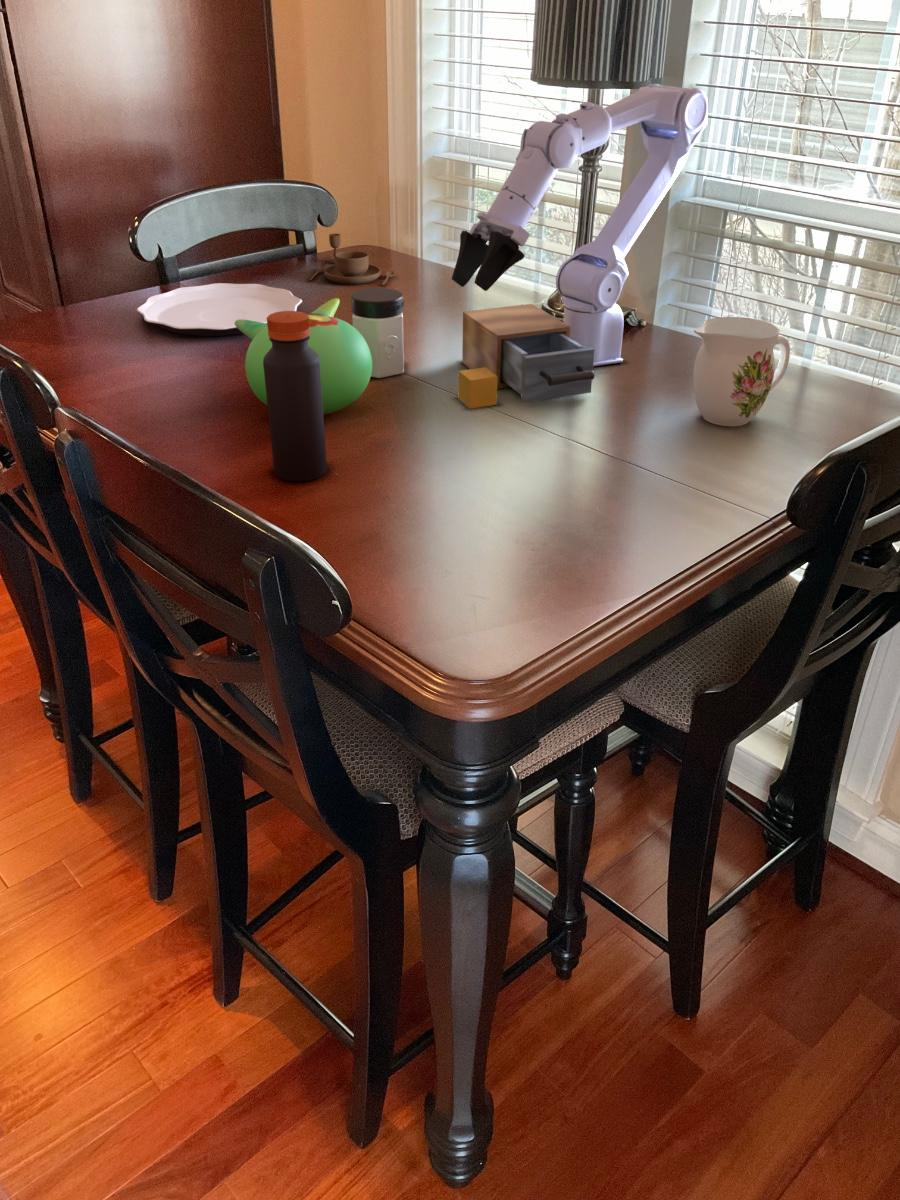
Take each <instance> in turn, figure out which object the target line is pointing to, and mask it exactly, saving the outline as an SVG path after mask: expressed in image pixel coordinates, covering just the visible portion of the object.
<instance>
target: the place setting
mask: <svg viewBox="0 0 900 1200" xmlns="http://www.w3.org/2000/svg"><path fill="white" fill-rule="evenodd" d="M328 239H329V246H330V247H331V248H332V249H333V254H332V255H333V259H331V260H330V261H329V263H330V264H331V265H330V266H327V267H326V268H325V265H324V266H322V265H319V266H318V268H317V269H316V271H315V273H314V274H313V275H312V276H311V277H310V278H309V279H308V281H312V280H313V279H314V278H315V277H316V276H317V275H318V274H320V273H323V274H324V277H325V278H326V279H327V280H328V281H331V282H332V283H334V284H340V285H363V284H369V283H372V282H374V281H375V280H377V279H378V278H380V276H381V274H382V269H381V267H380V266H377V265H375V264H370V260H369V259H370V257H369V253H367V252H365V251H360V250H345V251H341V252H338V249H339V248H340V247H341V234H340V233H330V234H328ZM395 275H396V274H395V271H394V270H389V271H387V272H385V279H384V280H383V281H382V286H383V285H385V284H386V283H387V282H388V279H389V278H392V277H393V276H395Z"/></svg>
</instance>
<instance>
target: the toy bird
mask: <svg viewBox="0 0 900 1200" xmlns="http://www.w3.org/2000/svg"><path fill="white" fill-rule="evenodd" d="M340 302H341V301H340V298H338V297H335V298H331V299H329V300H327V301H326V302H325V303H323V304H321V305H320V306H319V307H318V308H316V309H314V310H313V311H312V312H310V313H306V314H307V315H308V316H309V326H310V335H309V336H310V339H309V340H308V346H309V347H311V348H312V349H313V350H314V351H315V352H316V353H317V354H318V355H319V359H320V373H321V388H322V402H323V416H324V415H328V414H331V413H335V412H338V411H340V410H343V409H345V408H347V407H348V406H350V405H351V404H352V403H354V402H355V401H356V400H358V399H359V398H360V397H361V396H362V394H363V393H364V392H365V391H366V389H367V387H368V385H369V383H370V381H371V378H372V377H371V373H372V357H371V353H370V350H369V347H368V345H367V343H366V341H365V339H364V338H363V336H362V335H361V334H360V333H359V332H358V331H357V330H356V329H355V328H354V327H353V325H351V324H350V323H349V322H347V321H345V320H343V319H340V318H338V317H334V316H335V314H336V312H337V310H338V308H339V306H340ZM234 324H235V326H236V327H237V328H238V329H239V330H240V331H241V332H243V334H244V335H245V336H246V337H248V338H249V339H250V340H251V342H250V343H249V346H248V348H247V351H246V354H245V359H244V363H245V364H244V370H245V376H246V379H247V382H248V385H249V387H250V390H251V391H252V392H253V394H254V395H255V396H256V397H257V399H258V400H259V401H260V402H261V403H262V404H264V406H267V396H266V386H265V376H264V366H263V360H264V356H265V355H266V354H267V353H268V351H269V350H270V349H271V348H272V342H271V341H270V340H269V336H268V325H267V324H265V323H261V322H256V321H251V320H245V319H239V320H236V321H235V323H234Z"/></svg>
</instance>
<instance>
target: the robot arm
mask: <svg viewBox="0 0 900 1200" xmlns="http://www.w3.org/2000/svg"><path fill="white" fill-rule="evenodd" d="M708 114H709V102H708V96H707V95H706V92H705V91H704V90H703V89H702V88H699V87H692V88H689V87H679V86H669V85H661V84H660V83H651V84H649V85H647V86H641V87H639V88H638V90H637V91H636V92H633V93H632V94H629V95H628V96H626V97H624V98H621V99H620V100H618V101H616V102H614V103H612V104H609V105H608V106H606V107H603V106H601V105H600V104H596V103H593V102H589V101H585V102H582V103H580V104H579V109H577V110H574V111H571V112H569V113H567V114H566V113H559V114H556V116H555V118H554V119H553V120H552V121H545V120H539V121H536V122H534V123H533V124H531V125H530V127H529V128H524V130H523V132H522V135H521V138H520V148H519V149H520V150H519V152H518V154H517V156H516V157H515V160H516V161H515V164H514V165H513V167H512V169H511V171H510V173H509V174H508V176H507V178H506V179H505V181H504V183H503V184H502V187H501V188H500V190H499V191H498V194H497V195H496V197H495V198H494V200H493V202H492V204H491V206H489V209H488V211H487V213H486V212H484V211H479V212H478V213H477V214H476V218H477V219H478V220H479V221H477V223H473V225H472V227H470V230H469V231H468V230H462V231H461V232H460V234H459V236H460V237H459V239H460V241H459V250H458V256H457V259H456V263H455V266H454V269H453V272H452V276H451V280H452V281H453V282H455V283H456V284H457V285H458V286H460V287H462V288H464V287H465V286H466V285H467V284H468V283H469V282H470V280H471V279H472V277H473V276H474V275H475V273H476V276H475V279H474V284H475V285H476V286H478V287H479V288H480V289H481V290H483V291H484V292H488V291H489V289H490V288H491V287H492V286H494V284H495V283H496V282H497V281H498V280H499V279H500V277H502V276H503V275H504V274H505V273H506V272H507V271H508V270H509V269H510V268H512V267H513V266H514V265H515V264H517V263H520V261H523V259H524V258H525V256H526V255H525V254H524V252H522V251H521V250H520V247H525V245H526V243H527V241H528V240H529V238H530V236H531V233H529V232H528V231H527V230H526V229H525V228H526V226H527V225H528V223H529V221H530V219H531V218H532V216H533V214H534V213H535V211H536V209H537V207H538V205H539V204H540V203H541V201H542V199H543V197H544V195H545V194H546V192H547V190H548V189H549V187H550V185H551V184H552V182H553V180H554V178H555V176H556V175H557V173H558V171H559V169H569V168H570V167H571V166H572V165H573V164H574V163H575V161H576V160H577V158H578V156H580V155H583V154H585V153H588V152H590V151H592V150H595V149H596V148H598V147H599V148H600V147H601V146H604V145H605V144H606V143H607V142H608V140H609V139H610V136H611V134H612V133H613V132H616V131H618V130H623V129H624V128H627V127H630V126H633V125H636V124H639V129H640V133H641V137H642V142H643V147H644V148H645V149H646V151H647V152H648V157H647V159H646V160H645V162H643V165H642V166H641V168H640V169H639V171H638V173H637V174H636V176H635V177H634V178H633V180H632V182H631V183H630V184H629V187H628V188H627V190H626V191H625V193H624V194H623V196H622V198H621V199H620V200H619V202H618V203H617V205H616V206H615V208H614V210H613V211H612V213H611V215H610V216H609V217H608V219H607V220H606V222H605V223H604V225H603V227H602V228H601V230H600V231H599V233H598V234H597V236H596V237H595V239H594V240H592V241H590V242H588V243H586V244H583V245H581V246H579V247H577V248H576V249H575V251H574V253H573V254H572V256H570V257H569V258H568V259H566V260H564V262H563V263H562V264H561V265H560V266H559V268H558V271H557V272H556V277H555V288H556V290H557V293H558V294H559V295H560V296H561V303H562V304H563V305H564V310H563V320H562V322H564V323H565V324H567V325H569V326H570V338H571V339H572V340H574V341H576V342H577V343H579V344H581V345H582V346H583V348H587V347H592V348H593V349H594V361H593V367H596V366H604V365H610V364H618V363H623V362H624V361H623V360H624V359H623V358H622V357H621V355H622V347H623V346H622V345H623V337H624V336H623V335H624V326H625V325H624V323H625V320H624V313H623V310H622V309H621V307H620V306H619V304H617V301H618V300H619V298H620V296H621V293H622V289H623V286H624V284H625V282H626V281H627V279H628V277H629V274H630V273H629V269H628V266H627V264H626V261H625V257H626V256H627V254H628V253H629V251H630V250H631V248H632V247H633V245H634V244H635V242H636V241H637V239H638V237H639V236H640V234H641V233H642V231H643V230H644V229H645V227H646V225H647V223H648V222H649V221H650V219H651V218H652V216H653V214H654V212H655V211H656V209H657V208H658V207H659V205H660V204H661V202H662V200H663V199H664V198H665V196H666V194H667V193H668V191H669V190H670V188H671V187H672V185H673V183H674V182H675V180H676V179H677V177H678V176H679V174H680V172H681V171H682V170H683V168H684V166H685V164H686V162H687V159H688V157H689V154H690V151H691V150H692V148H693V147H694V146H695V143H696V142H697V141H698V139H699V137H700V136H701V135H702V133H703V131H704V130H705V128H706V127H707V125H708V124H709V123H708V122H709V119H708V117H709V115H708ZM487 243H488V244H487ZM476 271H477V272H476Z"/></svg>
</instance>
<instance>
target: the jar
mask: <svg viewBox="0 0 900 1200" xmlns="http://www.w3.org/2000/svg"><path fill="white" fill-rule="evenodd" d="M350 305H351V313H352V315H351V316H352V317H351V318H352V326H353V327H354V328H355V329H356V330H357V331H358V332H359V333H360V334H361V335H362V336H363V338H364V339H365V341H366V343H367V345H368V347H369V350H370V353H371V357H372V373H371V377H370V378H374V379H383V378H386V377H387V378H388V377H392V376H399V375H402V374H404V373H405V356H404V355H405V353H404V350H405V349H404V315H403V313H404V305H405V303H404V295H403V293H402V292H401V291H399V290H397V289H393V288H387V287H369V288H363V289H359V290H356V291H353V292H352V294H351V295H350Z"/></svg>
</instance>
